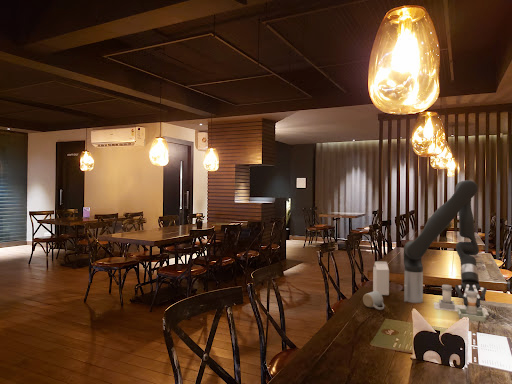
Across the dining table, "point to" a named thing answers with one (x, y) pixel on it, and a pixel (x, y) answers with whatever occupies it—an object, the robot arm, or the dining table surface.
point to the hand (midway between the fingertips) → (472, 306)
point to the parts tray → (472, 317)
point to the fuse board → (454, 307)
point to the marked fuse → (471, 302)
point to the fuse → (447, 293)
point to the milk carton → (381, 278)
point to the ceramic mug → (373, 300)
